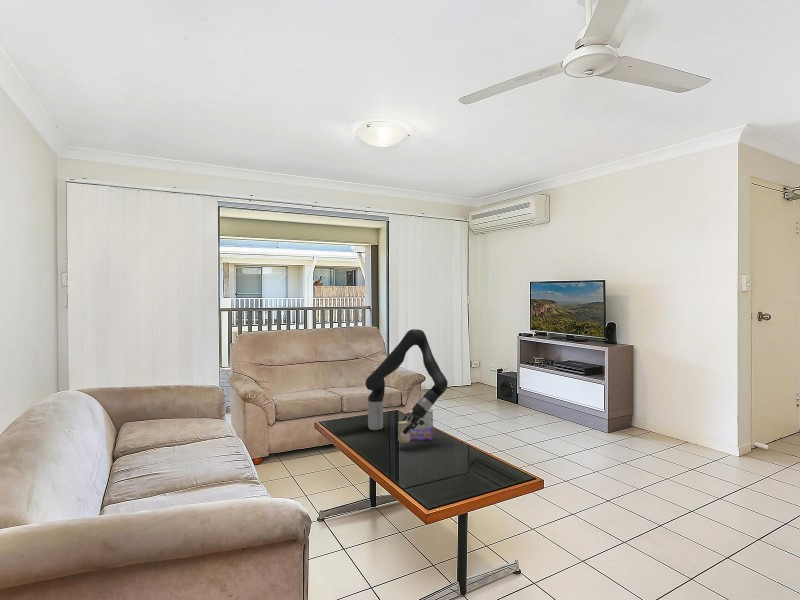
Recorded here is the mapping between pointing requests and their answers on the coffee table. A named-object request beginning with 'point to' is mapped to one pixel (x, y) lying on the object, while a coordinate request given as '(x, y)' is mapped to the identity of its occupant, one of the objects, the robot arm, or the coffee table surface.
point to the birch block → (401, 435)
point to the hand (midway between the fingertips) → (402, 431)
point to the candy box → (423, 428)
